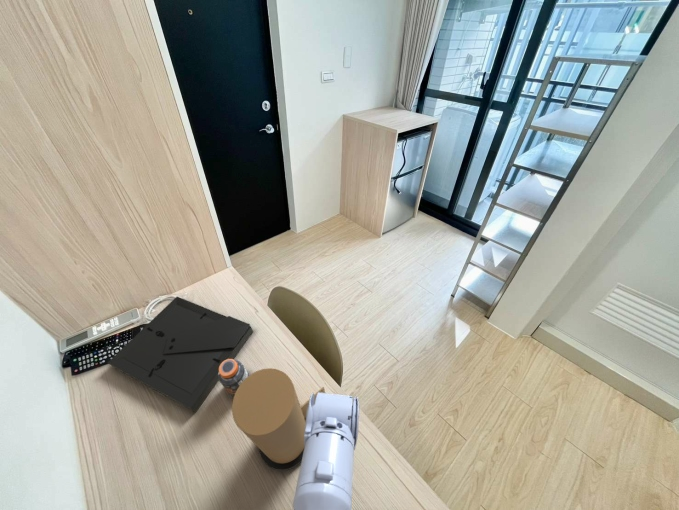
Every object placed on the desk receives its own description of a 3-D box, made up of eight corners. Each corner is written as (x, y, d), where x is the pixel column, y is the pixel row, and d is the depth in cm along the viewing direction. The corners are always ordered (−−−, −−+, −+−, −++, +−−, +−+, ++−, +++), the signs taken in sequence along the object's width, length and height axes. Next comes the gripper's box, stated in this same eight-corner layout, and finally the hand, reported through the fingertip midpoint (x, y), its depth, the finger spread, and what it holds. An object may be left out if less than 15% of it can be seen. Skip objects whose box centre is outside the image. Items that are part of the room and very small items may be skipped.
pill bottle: (223, 392, 68) (207, 373, 60) (237, 370, 72) (225, 350, 64) (242, 401, 66) (229, 384, 58) (256, 378, 70) (246, 359, 62)
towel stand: (305, 475, 56) (304, 475, 55) (250, 464, 57) (249, 463, 57) (317, 412, 65) (317, 411, 64) (269, 403, 66) (269, 402, 65)
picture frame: (253, 331, 80) (180, 302, 88) (250, 324, 77) (175, 294, 85) (195, 412, 65) (114, 367, 72) (189, 407, 62) (104, 360, 70)
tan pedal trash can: (338, 416, 63) (338, 374, 46) (278, 476, 55) (250, 452, 38) (312, 382, 68) (303, 334, 52) (254, 432, 60) (221, 395, 44)
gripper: (318, 383, 46) (322, 408, 56) (295, 493, 36) (305, 501, 46) (359, 389, 46) (356, 413, 55) (347, 505, 35) (346, 510, 45)
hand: (335, 454), depth 50 cm, fingers closed
